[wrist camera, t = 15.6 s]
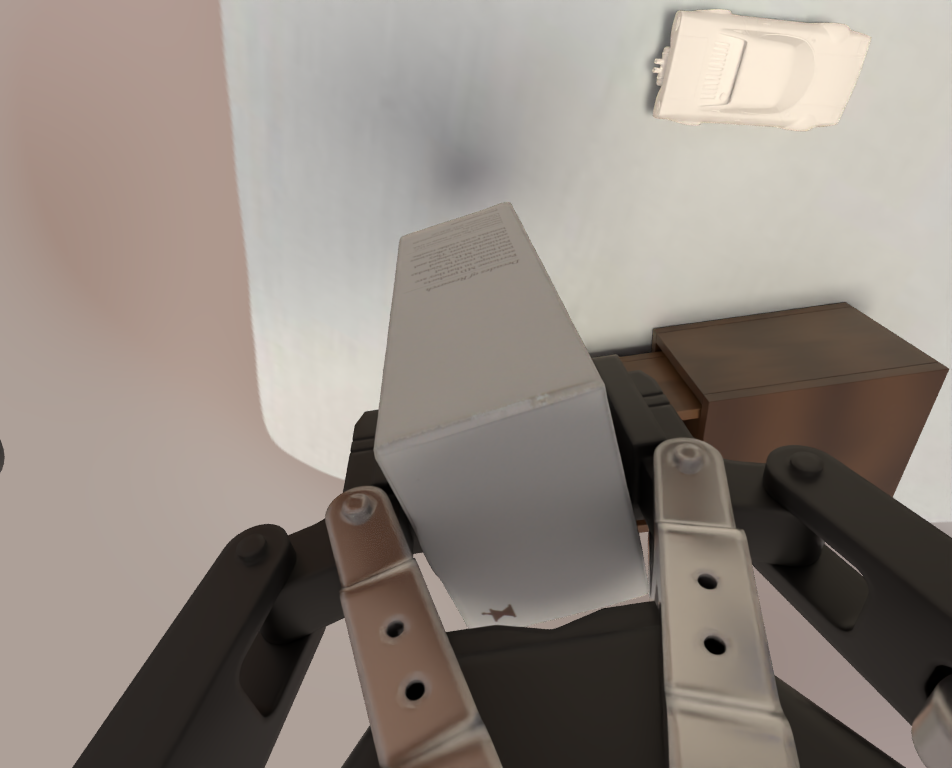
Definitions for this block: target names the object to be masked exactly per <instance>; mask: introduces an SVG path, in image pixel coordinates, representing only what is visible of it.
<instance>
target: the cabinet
mask: <svg viewBox="0 0 952 768" xmlns="http://www.w3.org/2000/svg"><path fill="white" fill-rule="evenodd" d="M659 351H663V353H664V354H665V355H666V357H667V358H668V359H669V361H670V362H671V363H672V365H673V366H674V367H675V369H676V370H677V372H678V373H679V374H680V376H681V377H682V378H683V380H684V381H685V382H686V384H687V385H688V386H689V388H690V389H691V390H692V392H693V393H694V394H695V396H696V397H697V399H698V400H699V401H700V403H701V404H702V410H701V417H700V424H699V431H698V437H697V439H698V440H701V441H704V442H706V443H708V444H710V445H711V446H713V447H714V448H716V449H717V450H718V451H719V453H720V454H721V456H722V458H724V459H728V460H733V461H742V462H755V463H766V460H767V457H768V455H769V454H770V452H772V451H773V450H774V449H776V448H778V447H782V446H787V445H802V446H808V447H812V448H816V449H818V450H821V451H823V452H825V453H827V454H829V455H831V456H832V457H834V458H835V459H837V460H838V461H840V462H841V463H843V464H844V465H846V466H847V467H849V468H850V469H852V470H853V471H854V472H856V473H857V474H859V475H860V476H862V477H863V478H865V479H866V480H868V481H869V482H871V483H872V484H873V485H875V486H876V487H878V488H879V489H881V490H882V491H884V492H885V493H887V494H888V495H890V496H891V497H893V495H894V493H895V491H896V488H897V486H898V484H899V482H900V479H901V477H902V475H903V472H904V470H905V468H906V466H907V463H908V461H909V459H910V457H911V454H912V452H913V450H914V448H915V445H916V443H917V441H918V439H919V436H920V434H921V432H922V430H923V427H924V425H925V423H926V421H927V418H928V416H929V414H930V412H931V409H932V407H933V405H934V403H935V400H936V398H937V396H938V393H939V391H940V389H941V387H942V384H943V382H944V380H945V378H946V375H947V373H948V371H949V368H947V367H946V366H944V365H943V364H941V363H939V362H938V361H936V360H935V359H933V358H932V357H930V356H929V355H927V354H926V353H924V352H922V351H921V350H919V349H918V348H916V347H915V346H913V345H912V344H910V343H908V342H907V341H905V340H904V339H902V338H901V337H899V336H898V335H896V334H894V333H893V332H891V331H890V330H888V329H887V328H885V327H884V326H882V325H880V324H879V323H877V322H876V321H874V320H873V319H871V318H870V317H868V316H866V315H865V314H863V313H862V312H860V311H859V310H857V309H856V308H854V307H852V306H851V305H849V304H848V303H846V302H844V303H836V304H829V305H822V306H815V307H807V308H800V309H793V310H786V311H778V312H771V313H764V314H757V315H749V316H742V317H735V318H728V319H721V320H713V321H706V322H699V323H692V324H684V325H677V326H670V327H663V328H655V329H653V338H652V351H651V353H652V352H659Z"/></svg>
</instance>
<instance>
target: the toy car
mask: <svg viewBox="0 0 952 768" xmlns="http://www.w3.org/2000/svg"><path fill="white" fill-rule="evenodd" d="M870 41H871V37H870V36H867V35H865V34H862V33H859V32H856V31H852V30H850V28H849V27H848V26H847V25H845V24H839V23H803V22H794V21H785V20H776V19H766V18H757V17H748V16H740V15H734V14H732V13H731V11H729V10H723V9H710V10H695V11H678V12H677V13H676V15H675V18H674V22H673V26H672V31H671V45H670V47H668V46H667V47H665V48H664V51H663V53H662V59H655V61H654V63H655V64H660V68H655V67H654V68H653V73H658V77H657V82H656V83H657V85H659V86H661V89H660V91H659V92H658V94H657V97H656V101H655V105H654V111H653V117H654V118H658V119H669V120H671V121H675V122H678V123H681V124H686V125H700V124H701V123H723V124H738V125H754V126H769V127H779V128H782V129H787V130H793V131H808V130H811V129H812V128H813V127H824V126H831V125H836V124H837V123H838V121H839V119H840V117H841V115H842V113H843V111H844V109H845V106H846V104H847V102H848V100H849V98H850V96H851V94H852V91H853V89H854V87H855V84H856V82H857V79H858V77H859V74H860V71H861V68H862V65H863V62H864V59H865V56H866V53H867V50H868V47H869V44H870Z"/></svg>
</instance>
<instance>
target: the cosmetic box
mask: <svg viewBox="0 0 952 768" xmlns="http://www.w3.org/2000/svg"><path fill="white" fill-rule="evenodd" d="M374 455H375V459H376V461H377V463H378V464H379V466H380V468H381V470H382V472H383V474H384V475H385V477H386V479H387V481H388V483H389V485H390V486H391V488H392V490H393V492H394V494H395V495H396V497H397V499H398V501H399V503H400V505H401V507H402V509H403V510H404V512H405V514H406V516H407V517H408V519H409V521H410V523H411V525H412V527H413V529H414V531H415V533H416V535H417V538H418V540H419V543H420V546H421V548H422V551H423V553H424V555H425V557H426V559H427V561H428V563H429V565H430V566H431V568H432V570H433V571H434V573H435V574H436V575H437V576H438V577H439V578H440V580H441V581H442V583H443V584H444V586H445V588H446V590H447V592H448V594H449V595H450V597H451V599H452V600H453V602H454V604H455V605H456V607H457V609H458V611H459V613H460V614H461V616H462V618H463V620H464V622H465V623H466V625H467V627H468V629H471V628H477V627H484V626H491V625H506V626H517V627H526V626H530V625H534V624H538V623H542V622H546V621H550V620H554V619H559V618H563V617H567V616H571V615H575V614H579V613H583V612H587V611H591V610H596V609H599V608H603V607H607V606H610V605H614V604H618V603H621V602H625V601H628V600H631V599H634V598H638V597H642V596H644V595H646V594H648V592H649V585H648V580H647V574H646V569H645V563H644V557H643V551H642V546H641V541H640V536H639V531H638V526H637V522H636V519H635V515H634V512H633V508H632V504H631V500H630V496H629V492H628V488H627V484H626V479H625V475H624V470H623V465H622V461H621V456H620V452H619V448H618V443H617V439H616V434H615V430H614V425H613V421H612V416H611V412H610V408H609V403H608V399H607V394H606V388H605V384H604V382H603V380H602V379H601V377H600V375H599V373H598V371H597V369H596V367H595V365H594V363H593V361H592V359H591V357H590V355H589V353H588V351H587V349H586V347H585V345H584V344H583V342H582V340H581V338H580V336H579V334H578V332H577V330H576V328H575V326H574V324H573V323H572V321H571V318H570V316H569V314H568V312H567V310H566V308H565V306H564V304H563V302H562V301H561V299H560V297H559V295H558V293H557V291H556V289H555V287H554V285H553V283H552V281H551V279H550V277H549V275H548V273H547V271H546V269H545V267H544V265H543V263H542V262H541V260H540V258H539V256H538V254H537V252H536V250H535V248H534V246H533V245H532V243H531V241H530V239H529V237H528V235H527V233H526V231H525V229H524V227H523V225H522V223H521V221H520V220H519V218H518V216H517V214H516V212H515V210H514V208H513V206H512V204H511V203H510V202H504V203H500V204H497V205H495V206H492V207H489V208H486V209H484V210H481V211H478V212H475V213H472V214H469V215H466V216H463V217H460V218H456V219H453V220H450V221H447V222H444V223H441V224H438V225H434V226H431V227H428V228H425V229H422V230H419V231H416V232H413V233H410V234H407V235H404V236H402V237H401V238H400V242H399V249H398V258H397V266H396V275H395V283H394V290H393V298H392V306H391V313H390V322H389V330H388V339H387V348H386V354H385V363H384V369H383V379H382V386H381V395H380V403H379V411H378V420H377V427H376V434H375V442H374Z"/></svg>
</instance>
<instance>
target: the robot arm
mask: <svg viewBox="0 0 952 768" xmlns="http://www.w3.org/2000/svg"><path fill="white" fill-rule="evenodd" d="M591 359H592V361H593V363H594V365H595V367H596V369H597V371H598V373H599V375H600V377H601V379H602V380H603V382H604V384H605V388H606V394H607V399H608V403H609V408H610V412H611V416H612V421H613V425H614V430H615V434H616V439H617V443H618V448H619V452H620V456H621V461H622V465H623V470H624V475H625V479H626V484H627V488H628V492H629V496H630V500H631V504H632V508H633V512H634V515H635V519H636V521H637V520H643V519H645V521H646V524H647V526H648V528H649V533H648V575H649V577H648V579H649V602H643V603H636V604H629V605H624V606H616V607H610V608H603V609H601V610H598V611H596V612H594V613H591V614H589V615H587V616H584V617H582V618H580V619H577V620H575V621H572V622H570V623H568V624H566V625H563V626H561V627H558V628H556V629H550V630H549V629H537V628H527V627H517V626H506V625H491V626H484V627H477V628H471V629H464V630H458V631H451V632H445V630H444V627H443V625H442V622H441V620H440V617H439V615H438V612H437V610H436V608H435V605H434V603H433V600H432V598H431V595H430V593H429V590H428V588H427V585H426V583H425V581H424V578H423V576H422V573H421V571H420V568H419V566H418V564H417V562H416V559H415V558H413V554H416V553H422V552H423V551H422V548H421V546H420V543H419V540H418V538H417V535H416V533H415V531H414V529H413V527H412V525H411V523H410V521H409V519H408V517H407V516H406V514H405V512H404V510H403V509H402V507H401V505H400V503H399V501H398V499H397V497H396V495H395V494H394V492H393V490H392V488H391V486H390V485H389V483H388V481H387V479H386V477H385V475H384V474H383V472H382V470H381V468H380V466H379V464H378V463H377V461H376V459H375V455H374V442H375V434H376V427H377V420H378V411H379V410H373V411H367V412H364V414H363V415H362V416H361V418H360V419H359V420H358V422H357V423H356V424H355V428H354V433H353V442H352V445H351V450H350V451H351V453H350V456H349V461H348V467H347V473H346V478H345V484H344V489H343V493H342V494H340V495H339V496H338V497H336V498H335V499H334V500H333V501H332V503H331V504H330V505H329V507H328V509H327V511H326V515H325V519H323V520H322V521H320V522H318V523H317V524H314V525H312V526H310V527H307V528H305V529H303V530H300V531H298V532H295V533H293V534H291V535H287V533H286V531H285V530H284V529H283V528H281V527H280V526H277V525H273V524H264V525H258V526H254V527H252V528H249V529H247V530H245V531H243V532H242V533H240V534H238V535H237V536H236V537H234V538H233V539H232V540H231V541H230V542H229V543H228V544H227V545H226V547H225V548H224V549H223V551H222V552H221V554H220V555H219V556H218V558H217V559H216V561H215V562H214V564H213V565H212V567H211V568H210V570H209V571H208V572H207V574H206V575H205V577H204V578H203V580H202V581H201V582H200V584H199V585H198V587H197V588H196V590H195V591H194V593H193V594H192V595H191V597H190V598H189V600H188V601H187V603H186V604H185V605H184V607H183V609H182V610H181V611H180V613H179V614H178V616H177V617H176V619H175V620H174V621H173V623H172V624H171V626H170V627H169V629H168V630H167V632H166V633H165V635H164V636H163V637H162V639H161V640H160V642H159V643H158V645H157V646H156V648H155V649H154V650H153V652H152V653H151V655H150V656H149V658H148V659H147V660H146V662H145V663H144V665H143V666H142V668H141V669H140V671H139V672H138V673H137V675H136V676H135V678H134V679H133V681H132V682H131V684H130V685H129V687H128V688H127V690H126V691H125V692H124V694H123V695H122V697H121V698H120V699H119V701H118V702H117V704H116V705H115V707H114V708H113V710H112V711H111V712H110V714H109V716H108V717H107V718H106V720H105V721H104V723H103V724H102V725H101V727H100V728H99V730H98V731H97V733H96V734H95V736H94V737H93V739H92V740H91V741H90V743H89V744H88V746H87V747H86V749H85V750H84V752H83V753H82V754H81V756H80V757H79V759H78V760H77V762H76V763H75V765H74V766H73V767H72V768H265V765H266V763H267V761H268V759H269V756H270V754H271V752H272V749H273V747H274V745H275V743H276V740H277V738H278V736H279V733H280V731H281V729H282V727H283V724H284V722H285V720H286V718H287V715H288V713H289V711H290V708H291V706H292V704H293V702H294V699H295V697H296V695H297V693H298V690H299V688H300V686H301V684H302V681H303V679H304V676H305V674H306V672H307V670H308V668H309V665H310V663H311V661H312V659H313V656H314V654H315V652H316V649H317V647H318V645H319V643H320V640H321V638H322V636H323V634H324V631H325V628H326V626H328V625H330V624H332V623H334V622H336V621H338V620H340V619H343V618H345V621H346V625H347V629H348V634H349V638H350V642H351V646H352V650H353V654H354V659H355V663H356V667H357V672H358V676H359V680H360V684H361V688H362V692H363V697H364V700H365V705H366V710H367V714H368V718H369V722H370V726H369V727H368V729H367V730H366V732H365V733H364V735H363V736H362V738H361V739H360V741H359V742H358V744H357V745H356V747H355V748H354V749H353V751H352V752H351V754H350V756H349V757H348V758H347V760H346V761H345V763H344V764H343V766H342V767H341V768H906V767H904V766H902V765H901V764H900V763H898V762H897V761H896V760H894V759H893V758H891V757H890V756H888V755H887V754H886V753H884V752H883V751H881V750H880V749H879V748H877V747H876V746H874V745H873V744H871V743H870V742H869V741H867V740H866V739H864V738H863V737H862V736H860V735H859V734H857V733H856V732H854V731H853V730H852V729H850V728H849V727H847V726H846V725H844V724H843V723H842V722H840V721H839V720H837V719H836V718H835V717H833V716H832V715H830V714H829V713H827V712H826V711H825V710H823V709H822V708H820V707H819V706H817V705H816V704H815V703H813V702H812V701H810V700H809V699H808V698H806V697H805V696H803V695H802V694H800V693H799V692H798V691H796V690H795V689H793V688H792V687H791V686H789V685H788V684H786V683H785V682H783V681H782V680H781V679H779V678H778V677H777V676H775V675H774V672H773V667H772V662H771V657H770V652H769V647H768V642H767V637H766V632H765V627H764V622H763V617H762V612H761V607H760V602H759V597H758V592H757V587H756V582H755V577H754V572H753V567H752V565H753V566H754V567H755V568H756V569H757V570H758V571H759V572H760V573H761V574H762V575H763V576H764V577H765V578H766V579H767V580H768V581H769V582H770V583H771V584H772V585H773V586H774V587H775V588H776V589H777V590H778V591H779V592H780V593H781V594H782V595H783V596H784V597H785V598H786V599H787V601H789V602H790V604H791V605H792V606H794V608H795V609H796V610H797V611H798V612H800V613H801V615H802V616H803V617H804V618H805V619H806V620H808V622H809V623H810V624H811V625H812V626H813V627H814V628H815V629H816V630H817V631H818V632H819V633H820V634H821V635H822V636H823V637H824V638H825V639H826V640H827V641H828V642H829V643H830V644H831V645H832V646H833V647H834V648H835V649H836V650H837V651H838V652H839V653H840V654H841V655H842V656H843V657H844V658H845V659H846V660H847V661H848V662H849V663H850V664H851V665H852V666H853V667H854V668H855V669H856V670H857V671H858V672H859V673H860V674H861V675H862V676H863V677H864V678H865V679H866V680H867V681H868V682H869V683H870V684H871V685H872V686H873V687H874V688H875V689H876V690H877V691H878V692H879V693H880V694H881V695H882V696H883V697H884V698H885V699H886V700H887V701H888V702H889V703H890V704H891V705H892V706H893V707H894V708H895V709H896V710H897V711H898V712H899V713H900V714H901V715H902V717H904V719H906V721H907V722H909V724H910V725H911V726H912V730H911V731H912V732H911V733H912V740H913V743H914V747H915V749H916V751H917V753H918V755H919V757H920V759H921V760H922V762H923V763H924V765H925V766H926V767H927V768H952V538H951V537H949V536H948V535H947V534H945V533H944V532H942V531H941V530H939V529H938V528H936V527H935V526H933V525H932V524H931V523H929V522H928V521H926V520H925V519H923V518H922V517H920V516H919V515H917V514H916V513H915V512H913V511H912V510H910V509H909V508H907V507H906V506H904V505H903V504H901V503H900V502H898V501H897V500H895V499H894V498H893V497H891V496H890V495H888V494H887V493H885V492H884V491H882V490H881V489H879V488H878V487H876V486H875V485H873V484H872V483H871V482H869V481H868V480H866V479H865V478H863V477H862V476H860V475H859V474H857V473H856V472H854V471H853V470H852V469H850V468H849V467H847V466H846V465H844V464H843V463H841V462H840V461H838V460H837V459H835V458H834V457H832V456H831V455H829V454H827V453H825V452H823V451H821V450H818V449H816V448H812V447H808V446H802V445H787V446H782V447H778V448H776V449H774V450H773V451H772V452H770V454H769V455H768V457H767V460H766V463H755V462H742V461H733V460H728V459H724V458H722V456H721V454H720V453H719V451H718V450H717V449H716V448H714V447H713V446H711V445H710V444H708V443H706V442H704V441H701V440H698V439H694V438H693V436H692V435H691V433H690V432H689V430H688V429H687V427H686V426H685V424H684V422H683V421H682V419H681V418H680V416H679V415H678V413H677V412H676V410H675V409H674V407H673V406H672V404H670V401H669V400H668V398H667V397H666V395H665V394H663V391H662V389H661V388H660V386H659V385H658V383H657V382H656V380H655V379H654V378H652V377H651V376H649V375H647V374H646V373H644V372H643V371H641V370H635V371H627V370H626V368H625V366H624V365H623V363H622V361H621V360H620V358H619V356H618V355H617V354H614V355H608V356H601V357H595V358H591ZM825 542H826V543H827V544H828V545H830V546H831V547H832V548H833V549H835V551H837V552H838V553H839V554H840V555H842V556H843V557H844V558H845V559H846V560H848V561H849V562H850V563H851V564H852V565H853V566H855V567H856V568H857V569H858V570H859V572H860V573H861V574H862V575H863V576H862V575H861V574H859V573H858V572H857V571H856V570H855V569H853V568H852V567H851V566H850V565H849V564H847V563H846V562H845V561H844V560H843V559H842V558H840V557H839V556H838V555H837V554H836V553H835V552H833V551H832V550H831V549H830V548H829V547H827V546H826V545H825V544H824V543H825Z"/></svg>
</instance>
